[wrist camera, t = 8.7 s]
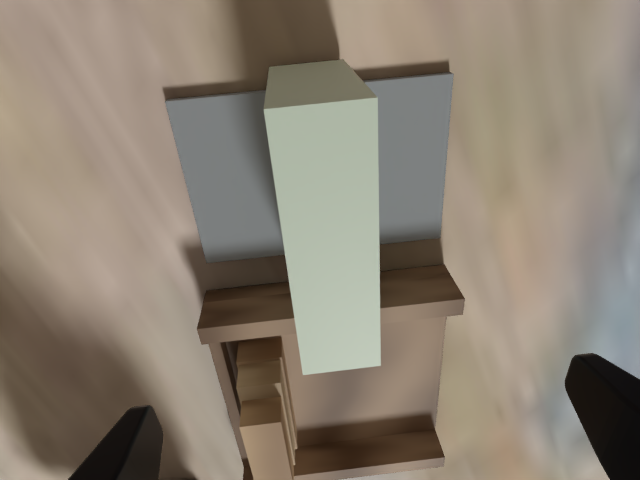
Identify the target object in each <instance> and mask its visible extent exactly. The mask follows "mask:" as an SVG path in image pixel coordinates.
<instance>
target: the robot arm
mask: <svg viewBox="0 0 640 480" xmlns="http://www.w3.org/2000/svg"><path fill="white" fill-rule="evenodd" d="M565 388H566V391H567V394H568V396H569V398H570V400H571V402H572V404H573V407H574V409H575V411H576V413H577V415H578V417H579V419H580V422H581V424H582V426H583V428H584V430H585V432H586V434H587V436H588V439H589V441H590V443H591V445H592V447H593V449H594V451H595V453H596V455H597V457H598V459H599V461H600V463H601V465H602V467H603V468H604V470H605V472H606V474H607V475H608V477H609V479H610V480H640V379H638V378H636V377H635V376H633V375H631V374H629V373H628V372H626V371H624V370H623V369H621V368H619V367H618V366H616V365H614V364H613V363H611V362H609V361H607V360H606V359H604V358H602V357H601V356H599V355H597V354H593V353H588V354H579V355H575V356H574V357H573V358H572V360H571V363H570V366H569V369H568V372H567V375H566V378H565ZM162 443H163V431H162V428H161V425H160V423H159V421H158V418H157V416H156V414H155V411H154V409H153V407H151V406H150V405H144V406H136V407H132V408H130V409H129V410H128V411H127V412H126V413H125V414H124V415H123V416H122V417H121V419H120V420H119V421H118V422H117V423H116V424H115V426H114V427H113V428H112V429H111V430H110V431H109V433H108V434H107V435H106V436H105V437H104V438H103V440H102V441H101V442H100V443H99V444H98V445H97V446H96V448H95V449H94V450H93V451H92V452H91V453H90V455H89V456H88V457H87V458H86V459H85V460H84V462H83V463H82V464H81V465H80V466H79V467H78V468H77V470H76V471H75V472H74V473H73V474H72V475H71V477H70V478H69V479H68V480H158V476H159V468H160V460H161V452H162Z"/></svg>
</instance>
